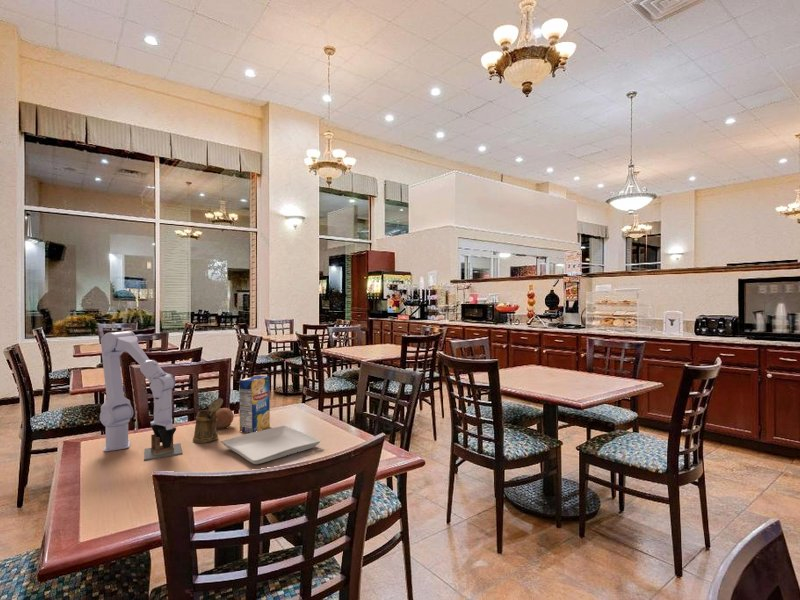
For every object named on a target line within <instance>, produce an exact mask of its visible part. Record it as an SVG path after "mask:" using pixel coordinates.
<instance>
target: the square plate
mask: <svg viewBox="0 0 800 600" xmlns="http://www.w3.org/2000/svg"><path fill="white" fill-rule="evenodd" d="M321 442H322V441H321V439H318V438H316V437H314V436H312V435H309V434H307V433H305V432H302V431H301V430H297V429H295V428H292V427H289V426H288V425H287V426H286V425H281V426H276V427H275V426H274V427H269V428H265V429H263V430H260V431H257V432H253V433H245V434H240V435H239V436H234V437H230V438H226V439H224V440H221V441H220V443H221V444H222V445H223V446H224V447H225V448H227V449H229V450H230V451H233V452H234V453H236V454H237V455H240V456H241V457H242V458H243V459H244V460H246V461H248V462H250V463H252V464H254V465H259V464H261V465H262V464H263V463H264V464H265V463H266V462H268V463H269V462H270V461H274V460H277V459H280V458H283V457H287V455H288V456H291V455H294V454H298V453H301V452H303V451H306V450H311V449H313V448H315V447H316V446H318V445H319V444H320V443H321ZM297 452H298V453H297ZM290 454H291V455H290Z"/></svg>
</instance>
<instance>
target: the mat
mask: <svg viewBox="0 0 800 600" xmlns="http://www.w3.org/2000/svg"><path fill="white" fill-rule="evenodd" d="M173 447H174V451H172V452H168V453H163V454H159V455H155V454H154V453H152V452H151V447H146V448H144V450H143V451H144V454H143V455H144V457H143V461H151V460H157V459H163V458H167V457H174V456H179V455H183V453H184V452H183V449H182V444H181V442H179V443H173Z"/></svg>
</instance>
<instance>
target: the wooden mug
mask: <svg viewBox="0 0 800 600" xmlns="http://www.w3.org/2000/svg"><path fill="white" fill-rule="evenodd" d="M223 403H224V399H223V398H222V397H217V398H216V399H215V400H213V401H212V402H210V404H209V405H208V407H207V409H205V410H199V411H197V413H196V416H195V427H194V434H193V438H192V443H195V444H208V443H211V442H215V441H216V440H217V439H219V436H218V432H217V429H216V424H217V414H216V411H217V410H218V409H219V408H221V407H222V405H223ZM214 440H215V441H214Z"/></svg>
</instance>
